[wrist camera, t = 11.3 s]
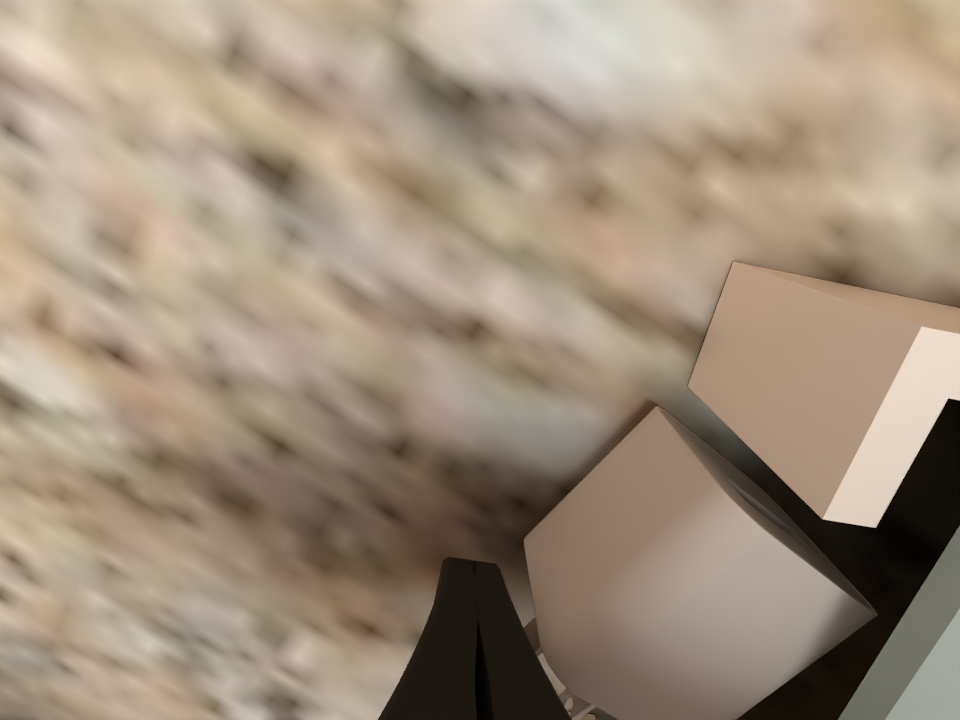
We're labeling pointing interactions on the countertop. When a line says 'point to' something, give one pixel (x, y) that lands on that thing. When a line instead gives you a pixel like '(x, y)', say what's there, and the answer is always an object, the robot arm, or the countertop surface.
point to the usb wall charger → (679, 585)
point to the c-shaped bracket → (828, 383)
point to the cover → (919, 655)
